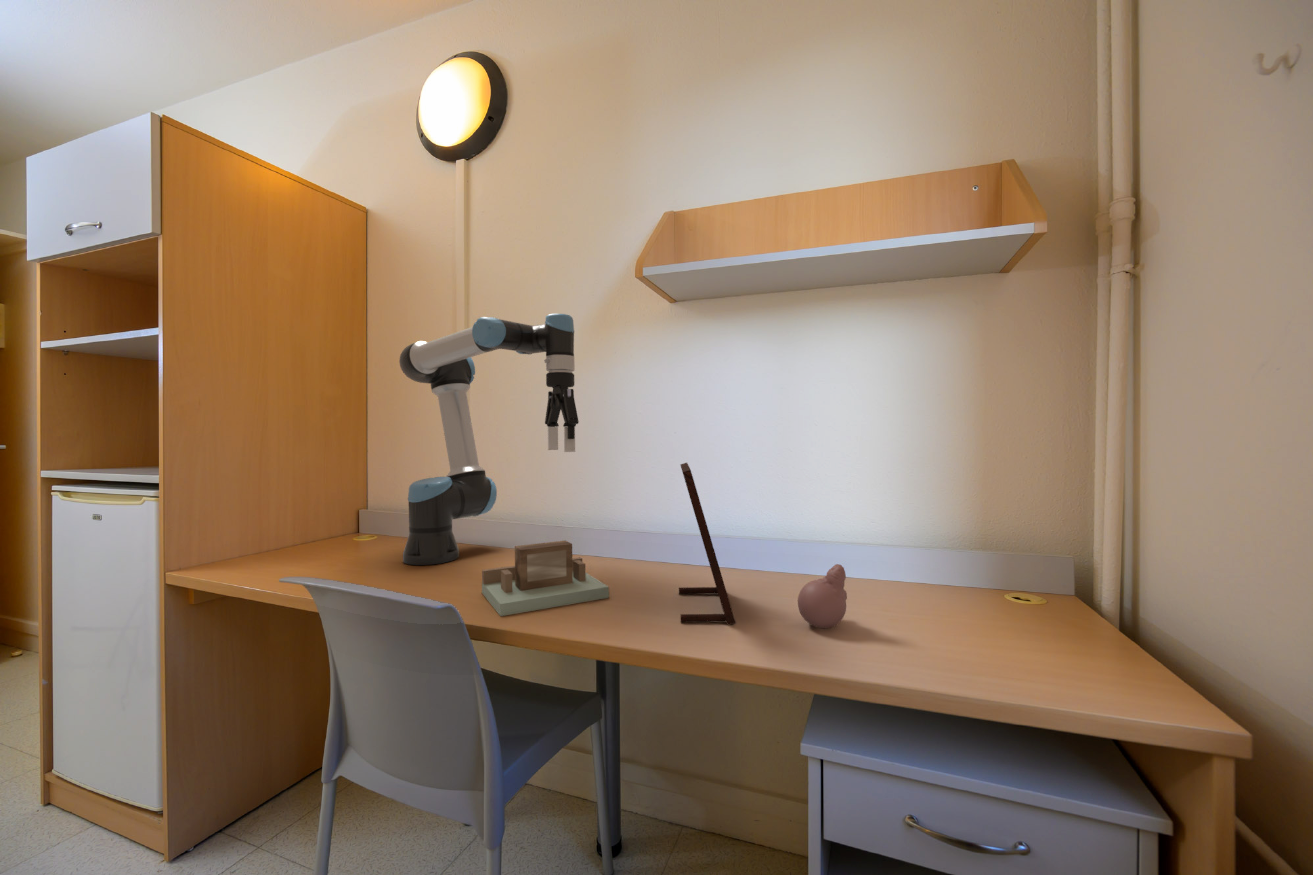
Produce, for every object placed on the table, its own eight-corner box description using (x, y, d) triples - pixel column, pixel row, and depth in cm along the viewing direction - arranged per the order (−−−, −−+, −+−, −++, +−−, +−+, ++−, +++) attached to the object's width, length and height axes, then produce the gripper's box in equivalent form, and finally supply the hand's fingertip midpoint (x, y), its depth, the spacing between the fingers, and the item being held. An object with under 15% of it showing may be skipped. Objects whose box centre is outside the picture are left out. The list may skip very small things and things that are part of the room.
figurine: (853, 620, 110) (853, 559, 109) (839, 638, 100) (840, 572, 100) (808, 612, 114) (808, 554, 114) (791, 629, 105) (791, 566, 104)
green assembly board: (482, 592, 129) (481, 565, 129) (579, 578, 140) (579, 552, 140) (500, 616, 113) (500, 584, 113) (608, 597, 125) (608, 568, 124)
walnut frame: (515, 585, 126) (514, 546, 125) (565, 578, 132) (565, 540, 131) (520, 591, 122) (520, 550, 121) (572, 583, 128) (572, 543, 127)
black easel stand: (735, 625, 107) (734, 469, 107) (680, 624, 107) (679, 470, 107) (724, 592, 128) (724, 462, 127) (678, 592, 128) (677, 462, 128)
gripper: (533, 375, 160) (534, 449, 160) (562, 367, 138) (563, 453, 138) (558, 376, 163) (559, 448, 164) (590, 368, 141) (591, 452, 142)
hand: (561, 450), depth 151 cm, fingers open, 13 cm apart
